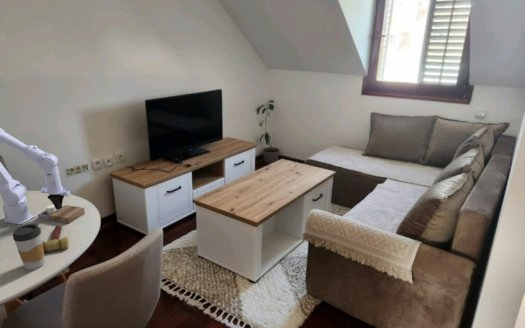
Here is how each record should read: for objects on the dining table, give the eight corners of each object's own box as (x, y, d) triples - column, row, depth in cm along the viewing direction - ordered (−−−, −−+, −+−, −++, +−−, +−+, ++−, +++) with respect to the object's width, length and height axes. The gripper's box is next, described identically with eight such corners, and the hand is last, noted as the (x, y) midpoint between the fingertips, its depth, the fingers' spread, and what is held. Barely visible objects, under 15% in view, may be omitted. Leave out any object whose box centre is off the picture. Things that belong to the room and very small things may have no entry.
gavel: (44, 222, 149) (71, 218, 153) (47, 232, 150) (72, 227, 154) (36, 245, 130) (66, 240, 134) (38, 256, 132) (68, 250, 135)
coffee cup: (38, 256, 131) (29, 221, 126) (53, 261, 128) (45, 226, 123) (16, 268, 124) (5, 232, 119) (32, 274, 121) (22, 238, 116)
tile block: (53, 216, 159) (47, 215, 160) (60, 212, 163) (55, 211, 164) (51, 208, 158) (46, 207, 159) (58, 204, 161) (53, 203, 162)
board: (50, 220, 156) (48, 215, 155) (67, 210, 165) (66, 205, 164) (68, 223, 154) (67, 218, 153) (84, 213, 163) (83, 207, 162)
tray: (38, 218, 158) (37, 214, 157) (56, 208, 167) (55, 204, 166) (49, 220, 156) (48, 216, 155) (66, 210, 165) (65, 206, 164)
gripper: (73, 179, 156) (78, 206, 161) (47, 176, 160) (53, 202, 164) (61, 185, 150) (67, 213, 155) (34, 182, 153) (40, 209, 158)
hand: (59, 208), depth 159 cm, fingers closed
